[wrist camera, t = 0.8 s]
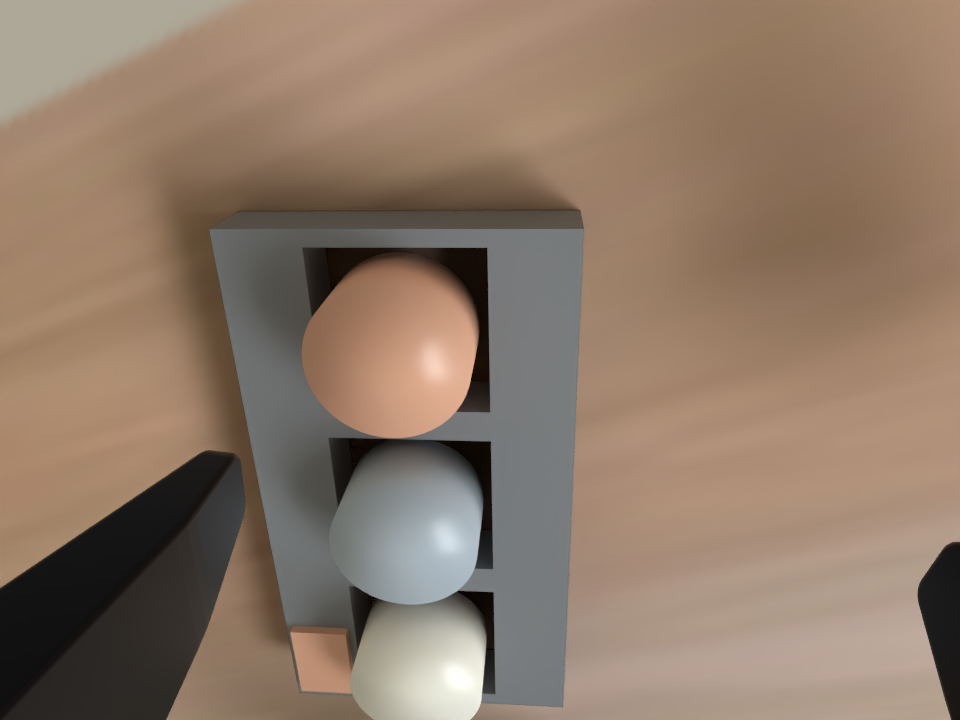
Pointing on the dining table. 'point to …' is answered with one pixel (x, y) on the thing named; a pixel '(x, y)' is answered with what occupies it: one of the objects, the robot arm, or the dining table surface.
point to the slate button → (409, 522)
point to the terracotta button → (393, 346)
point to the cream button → (421, 660)
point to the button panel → (481, 417)
